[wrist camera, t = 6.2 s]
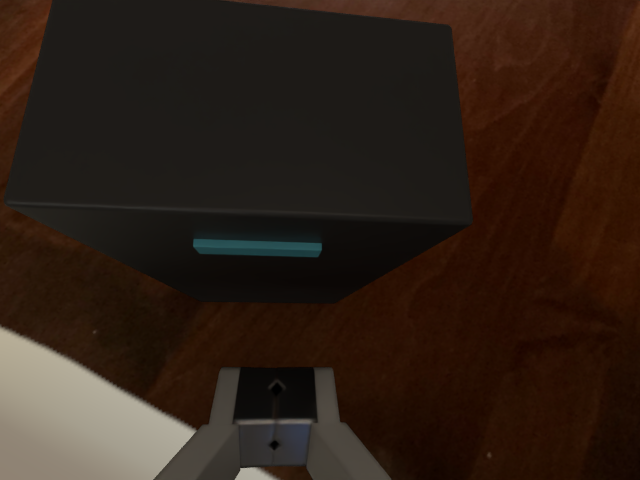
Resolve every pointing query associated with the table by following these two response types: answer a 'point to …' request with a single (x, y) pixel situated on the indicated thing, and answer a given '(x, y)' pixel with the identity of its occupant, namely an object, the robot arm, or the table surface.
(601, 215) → the table surface
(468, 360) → the table surface
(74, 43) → the black power bank
